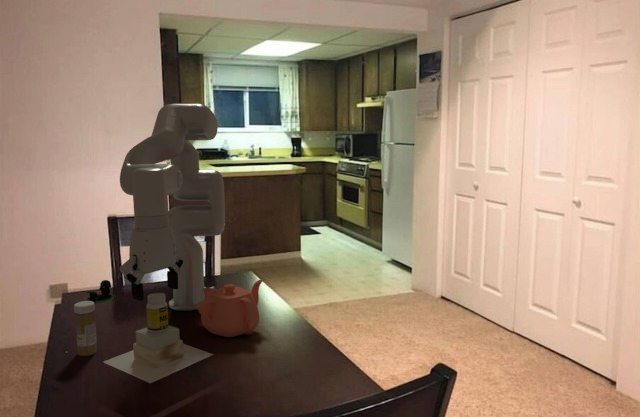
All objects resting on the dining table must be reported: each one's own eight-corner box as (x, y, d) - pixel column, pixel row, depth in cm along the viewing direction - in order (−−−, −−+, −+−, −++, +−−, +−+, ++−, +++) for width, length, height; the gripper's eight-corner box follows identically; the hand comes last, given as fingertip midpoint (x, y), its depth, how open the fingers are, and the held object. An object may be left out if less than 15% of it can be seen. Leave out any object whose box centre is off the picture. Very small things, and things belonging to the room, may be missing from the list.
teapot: (204, 323, 150) (203, 277, 148) (263, 321, 152) (263, 275, 150) (197, 345, 135) (195, 295, 133) (263, 343, 136) (262, 293, 134)
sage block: (161, 334, 129) (160, 322, 129) (179, 340, 125) (179, 328, 125) (136, 343, 123) (135, 331, 123) (154, 350, 119) (154, 338, 119)
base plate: (166, 341, 137) (165, 337, 137) (213, 358, 127) (213, 354, 127) (102, 366, 123) (102, 361, 123) (150, 387, 113) (150, 383, 112)
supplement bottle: (162, 334, 121) (160, 299, 120) (143, 332, 122) (141, 297, 121) (172, 326, 126) (170, 292, 125) (154, 325, 127) (152, 291, 126)
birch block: (162, 348, 130) (161, 333, 130) (183, 356, 126) (182, 340, 125) (134, 359, 124) (133, 343, 123) (155, 368, 119) (154, 351, 119)
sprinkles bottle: (74, 356, 128) (70, 303, 126) (92, 350, 132) (88, 298, 130) (83, 361, 125) (79, 307, 123) (101, 355, 129) (98, 302, 127)
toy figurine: (77, 302, 170) (75, 285, 169) (99, 293, 179) (97, 277, 178) (102, 305, 167) (101, 287, 166) (123, 296, 176) (122, 279, 175)
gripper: (172, 214, 129) (175, 281, 132) (108, 226, 115) (113, 300, 118) (192, 217, 125) (195, 287, 128) (128, 230, 111) (133, 307, 114)
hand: (156, 293), depth 123 cm, fingers open, 9 cm apart
